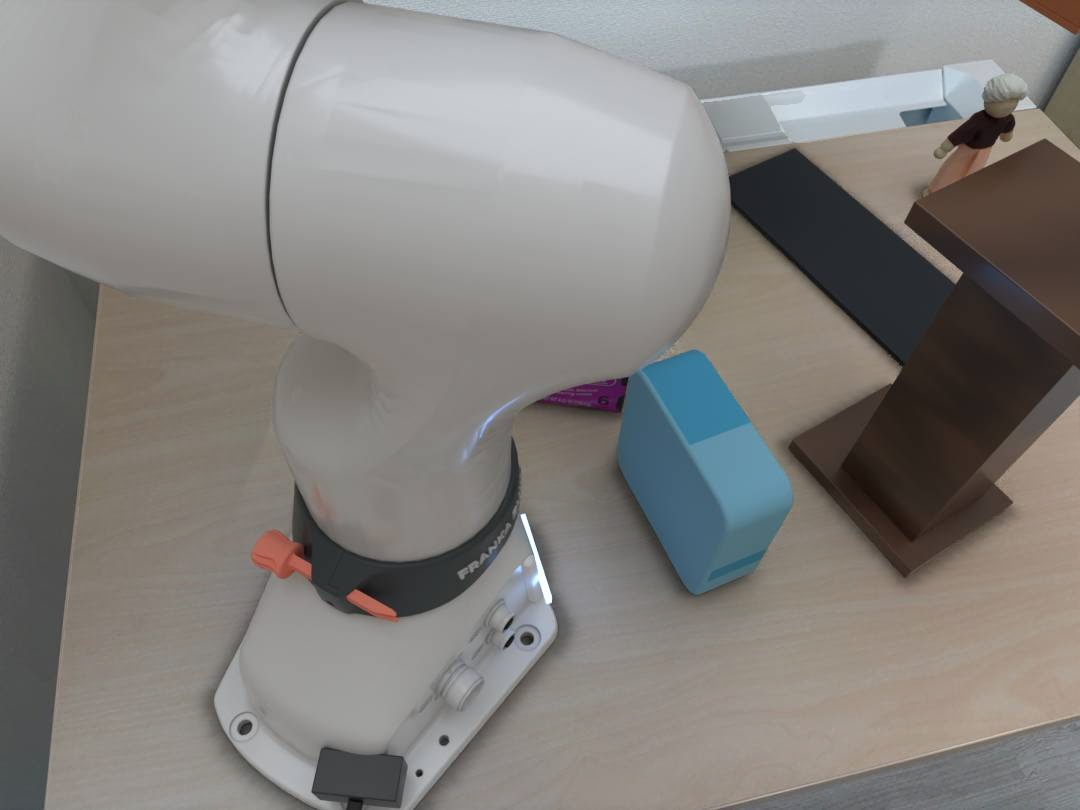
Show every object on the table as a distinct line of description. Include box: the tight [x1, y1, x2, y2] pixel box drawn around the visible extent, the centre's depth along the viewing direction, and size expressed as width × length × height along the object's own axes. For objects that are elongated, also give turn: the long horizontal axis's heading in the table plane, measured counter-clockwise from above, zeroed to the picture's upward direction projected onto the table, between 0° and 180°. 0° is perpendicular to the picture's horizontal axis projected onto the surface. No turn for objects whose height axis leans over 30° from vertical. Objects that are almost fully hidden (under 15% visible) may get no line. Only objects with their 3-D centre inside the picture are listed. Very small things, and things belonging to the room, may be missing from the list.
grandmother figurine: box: [921, 72, 1029, 198], centre depth 73 cm, size 8×4×13 cm, turn 121°
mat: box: [728, 147, 956, 368], centre depth 73 cm, size 26×10×1 cm, turn 32°
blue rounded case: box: [616, 349, 795, 596], centre depth 54 cm, size 12×4×12 cm, turn 23°
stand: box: [787, 138, 1080, 578], centre depth 51 cm, size 12×10×24 cm
